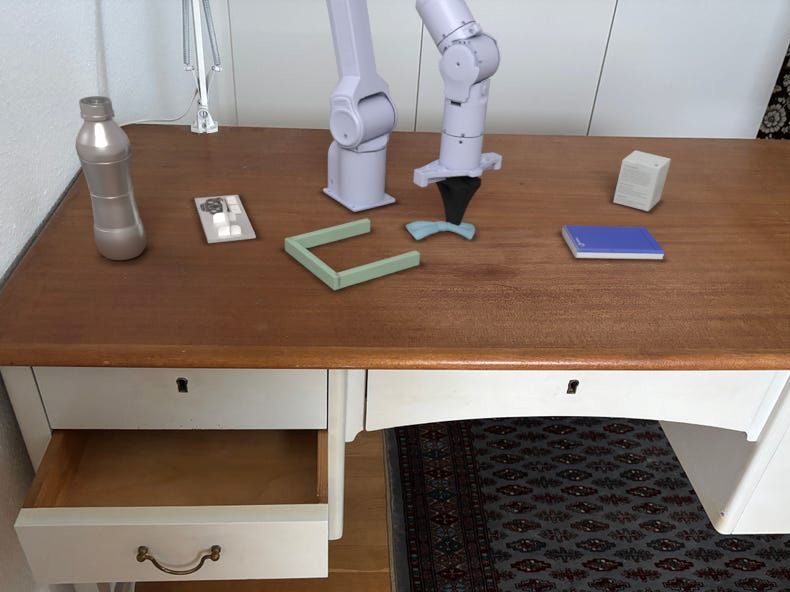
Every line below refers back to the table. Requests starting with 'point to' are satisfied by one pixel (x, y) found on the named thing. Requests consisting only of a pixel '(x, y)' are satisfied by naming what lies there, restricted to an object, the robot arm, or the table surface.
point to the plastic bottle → (109, 180)
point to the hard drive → (611, 242)
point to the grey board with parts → (224, 219)
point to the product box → (641, 180)
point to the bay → (352, 276)
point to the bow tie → (439, 228)
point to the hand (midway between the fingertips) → (453, 223)
